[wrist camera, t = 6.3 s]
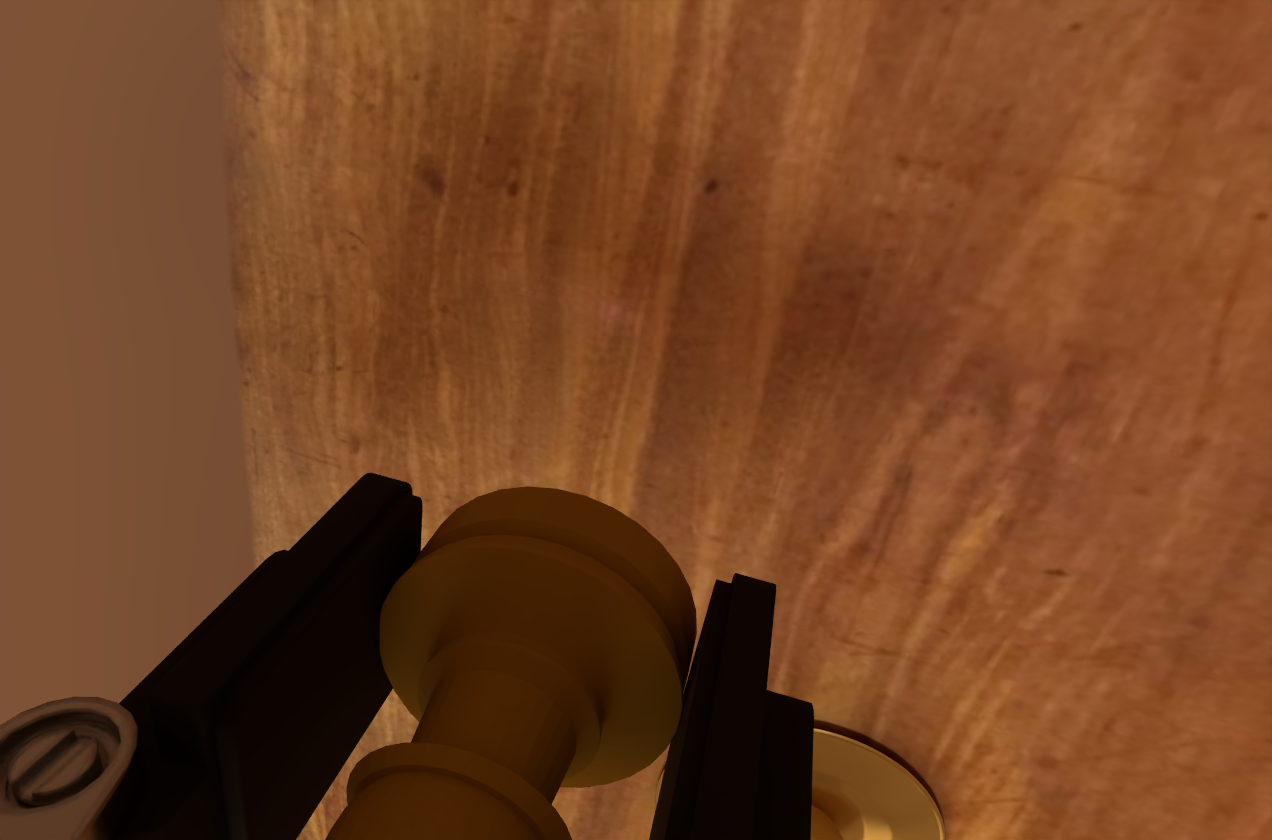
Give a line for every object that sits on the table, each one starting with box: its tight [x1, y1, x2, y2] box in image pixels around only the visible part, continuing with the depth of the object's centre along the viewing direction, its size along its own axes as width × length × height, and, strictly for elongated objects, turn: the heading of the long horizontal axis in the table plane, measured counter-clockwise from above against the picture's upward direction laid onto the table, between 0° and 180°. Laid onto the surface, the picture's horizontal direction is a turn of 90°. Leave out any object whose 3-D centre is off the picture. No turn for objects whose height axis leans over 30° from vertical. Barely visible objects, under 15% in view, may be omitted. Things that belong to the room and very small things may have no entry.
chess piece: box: [325, 487, 697, 840], centre depth 9 cm, size 4×4×5 cm
